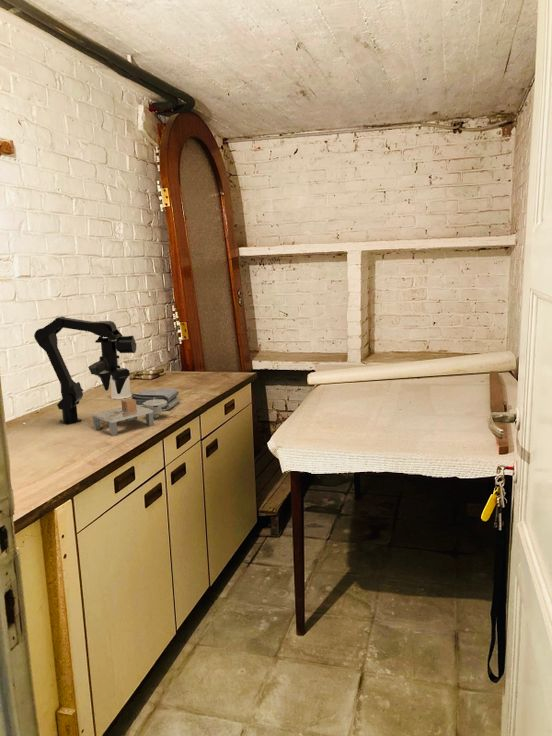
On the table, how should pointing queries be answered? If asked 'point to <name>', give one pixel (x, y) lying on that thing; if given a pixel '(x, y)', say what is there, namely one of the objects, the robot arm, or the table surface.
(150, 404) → the showerhead
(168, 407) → the towel
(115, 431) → the keyhole stand
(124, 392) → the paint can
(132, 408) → the peg
